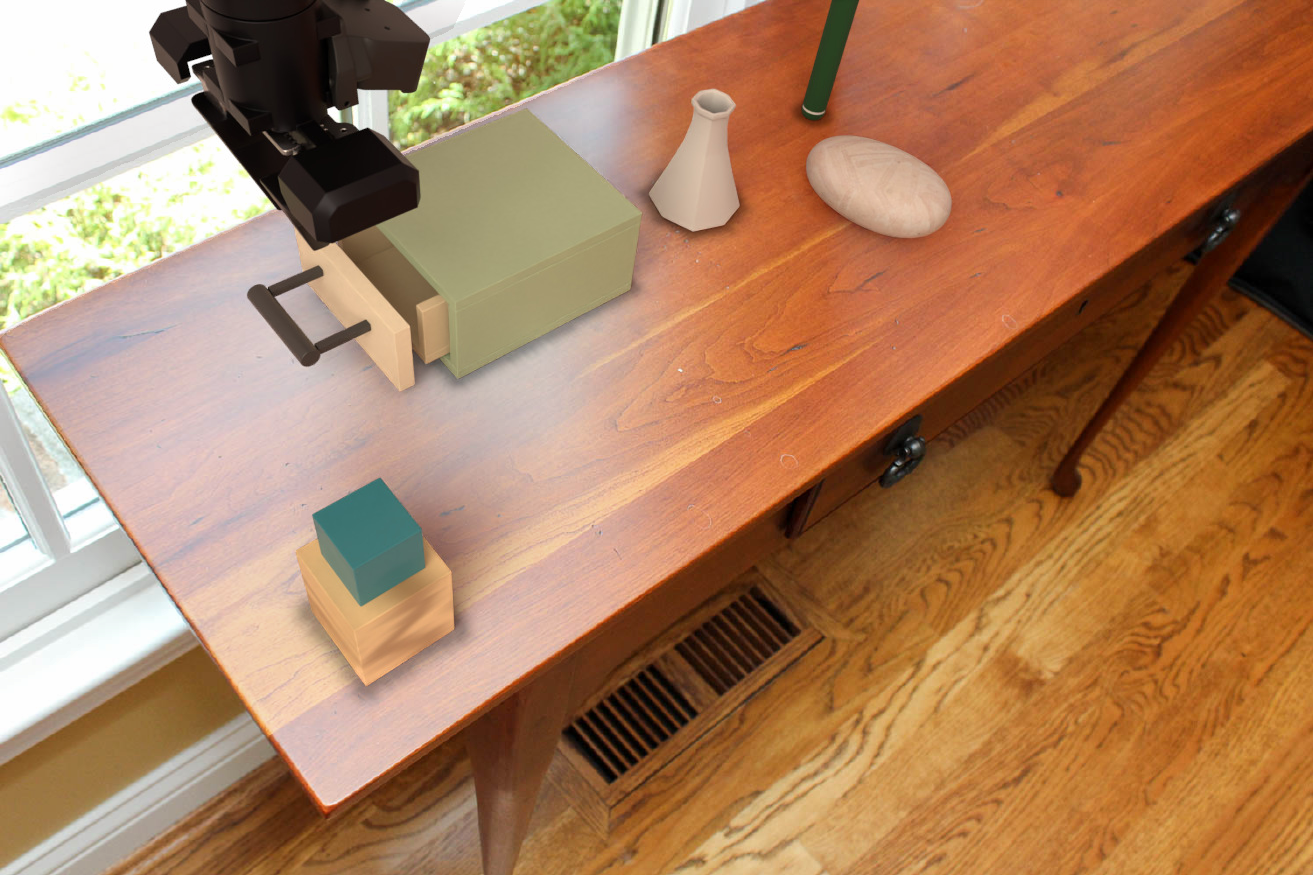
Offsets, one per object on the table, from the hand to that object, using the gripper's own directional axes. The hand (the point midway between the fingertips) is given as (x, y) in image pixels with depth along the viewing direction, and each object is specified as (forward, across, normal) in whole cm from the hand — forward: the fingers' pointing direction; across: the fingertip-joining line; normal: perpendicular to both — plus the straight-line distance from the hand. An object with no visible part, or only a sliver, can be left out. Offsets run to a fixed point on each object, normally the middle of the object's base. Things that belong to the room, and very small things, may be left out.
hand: (302, 226), depth 65 cm
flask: (+12, -2, -33) cm, 35 cm away
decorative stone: (+12, -11, -45) cm, 48 cm away
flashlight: (+12, +1, -50) cm, 52 cm away
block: (+5, -20, +8) cm, 22 cm away
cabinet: (+12, 0, -14) cm, 19 cm away
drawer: (+11, 0, -7) cm, 13 cm away
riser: (+12, -20, +8) cm, 24 cm away
